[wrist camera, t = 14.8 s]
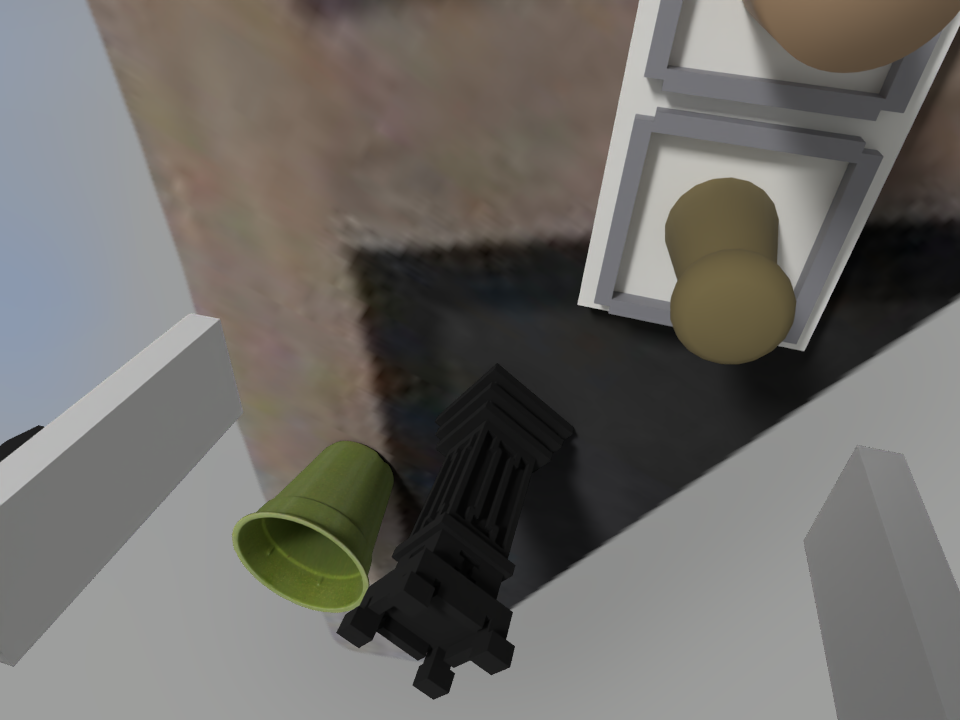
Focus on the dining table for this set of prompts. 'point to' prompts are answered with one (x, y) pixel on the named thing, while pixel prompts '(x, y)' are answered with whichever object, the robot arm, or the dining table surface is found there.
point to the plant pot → (320, 530)
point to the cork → (728, 272)
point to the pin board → (760, 133)
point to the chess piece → (463, 536)
